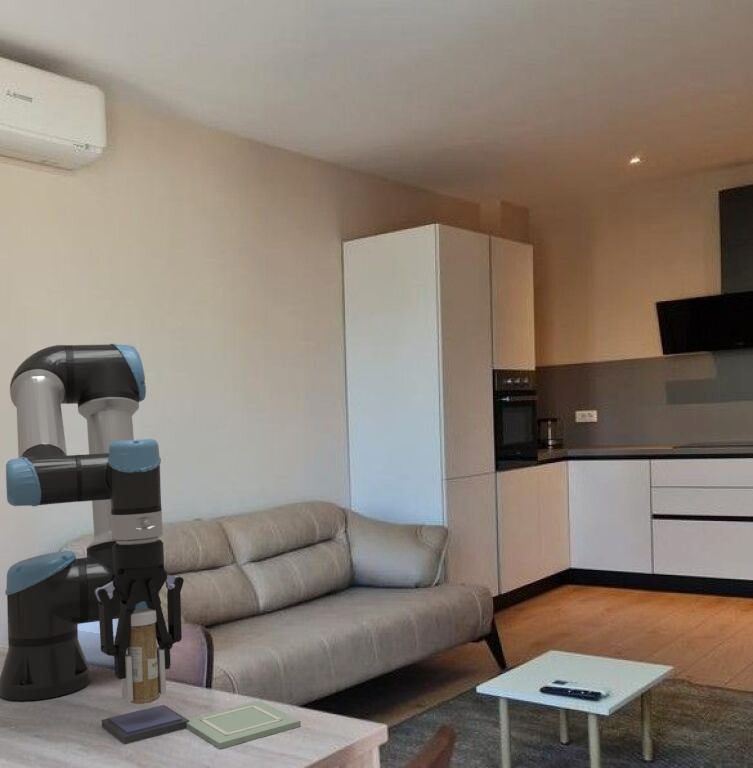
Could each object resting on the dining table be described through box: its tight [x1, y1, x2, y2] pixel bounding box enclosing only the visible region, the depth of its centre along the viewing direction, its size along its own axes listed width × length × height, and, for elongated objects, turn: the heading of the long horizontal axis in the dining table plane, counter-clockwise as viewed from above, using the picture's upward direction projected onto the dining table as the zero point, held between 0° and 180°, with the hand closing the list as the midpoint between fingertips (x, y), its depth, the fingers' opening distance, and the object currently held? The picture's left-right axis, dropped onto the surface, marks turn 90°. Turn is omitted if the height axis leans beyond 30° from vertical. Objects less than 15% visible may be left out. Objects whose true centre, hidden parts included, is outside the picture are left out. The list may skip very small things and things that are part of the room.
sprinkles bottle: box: [127, 608, 161, 705], centre depth 133 cm, size 5×5×13 cm
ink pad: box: [101, 704, 189, 745], centre depth 133 cm, size 10×10×1 cm
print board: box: [186, 700, 302, 750], centre depth 131 cm, size 13×13×1 cm
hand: (144, 695), depth 133 cm, fingers closed on sprinkles bottle, 4 cm apart
